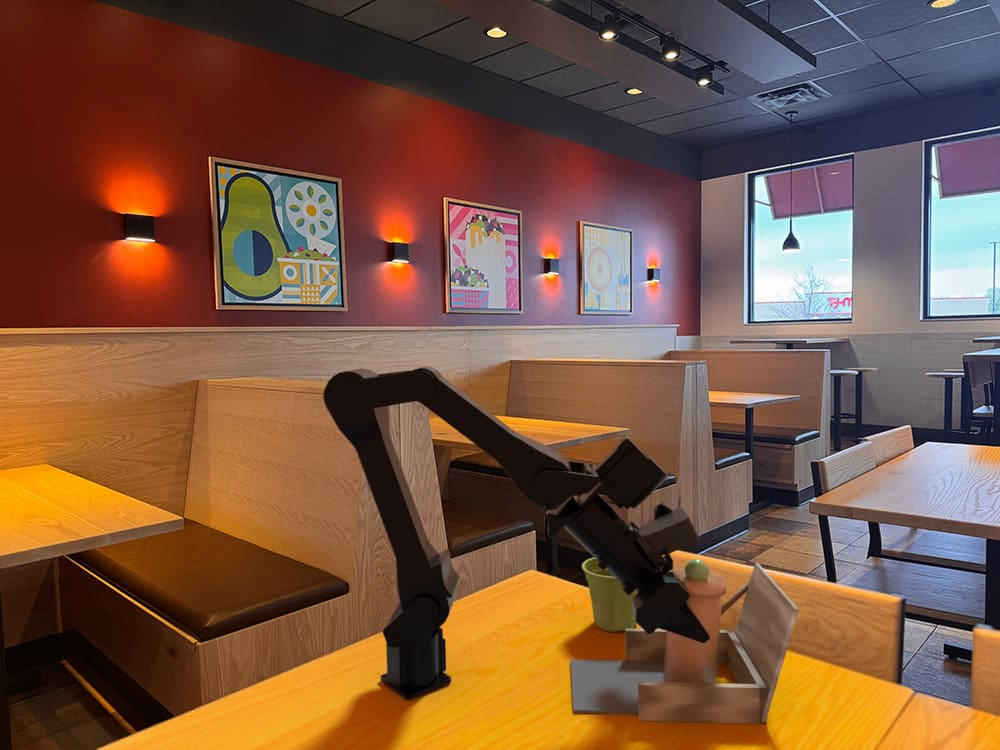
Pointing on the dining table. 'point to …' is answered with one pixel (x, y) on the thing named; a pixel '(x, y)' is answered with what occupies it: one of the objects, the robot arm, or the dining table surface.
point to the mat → (611, 684)
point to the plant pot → (608, 599)
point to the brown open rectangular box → (746, 651)
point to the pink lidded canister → (705, 600)
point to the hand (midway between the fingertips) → (701, 628)
